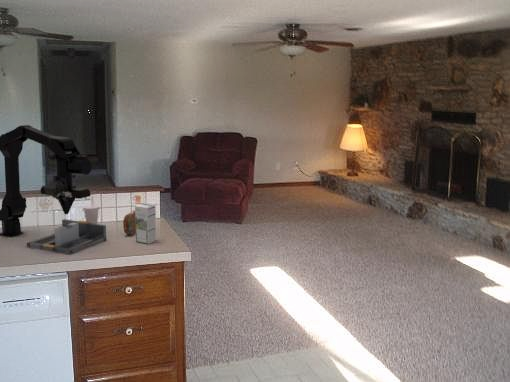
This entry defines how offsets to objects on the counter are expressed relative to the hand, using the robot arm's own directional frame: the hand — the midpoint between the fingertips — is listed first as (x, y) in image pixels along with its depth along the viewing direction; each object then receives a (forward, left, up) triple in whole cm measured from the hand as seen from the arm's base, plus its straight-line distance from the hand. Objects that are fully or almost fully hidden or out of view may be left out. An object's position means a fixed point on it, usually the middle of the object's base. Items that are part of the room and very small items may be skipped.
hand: (66, 214), depth 203 cm
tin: (+12, +25, -12) cm, 30 cm away
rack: (0, 0, -11) cm, 11 cm away
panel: (0, 0, -12) cm, 12 cm away
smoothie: (-5, +20, -12) cm, 24 cm away
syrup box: (+24, +16, -12) cm, 31 cm away
